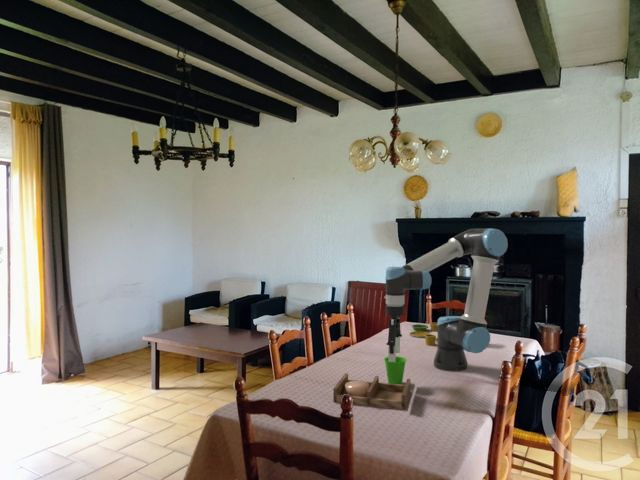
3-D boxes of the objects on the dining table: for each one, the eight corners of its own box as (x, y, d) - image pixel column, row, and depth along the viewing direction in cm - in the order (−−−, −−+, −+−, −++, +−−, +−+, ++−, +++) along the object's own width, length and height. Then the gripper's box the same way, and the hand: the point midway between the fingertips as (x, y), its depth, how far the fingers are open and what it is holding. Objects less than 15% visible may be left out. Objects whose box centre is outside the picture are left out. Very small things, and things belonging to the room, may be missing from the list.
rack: (410, 394, 181) (410, 379, 181) (405, 412, 164) (405, 395, 164) (345, 388, 189) (345, 373, 189) (333, 404, 172) (333, 388, 172)
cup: (406, 390, 186) (406, 362, 185) (383, 389, 188) (383, 361, 187) (406, 382, 195) (406, 356, 194) (384, 381, 196) (384, 355, 196)
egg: (370, 392, 181) (370, 382, 181) (366, 400, 173) (366, 389, 173) (348, 390, 184) (348, 379, 184) (342, 398, 175) (342, 387, 175)
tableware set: (461, 348, 249) (461, 336, 249) (408, 346, 255) (408, 334, 255) (455, 331, 290) (455, 320, 289) (409, 329, 295) (409, 319, 295)
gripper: (390, 299, 203) (389, 348, 204) (380, 309, 179) (380, 364, 180) (407, 300, 201) (407, 349, 201) (400, 310, 177) (399, 366, 178)
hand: (394, 357), depth 191 cm, fingers open, 13 cm apart
